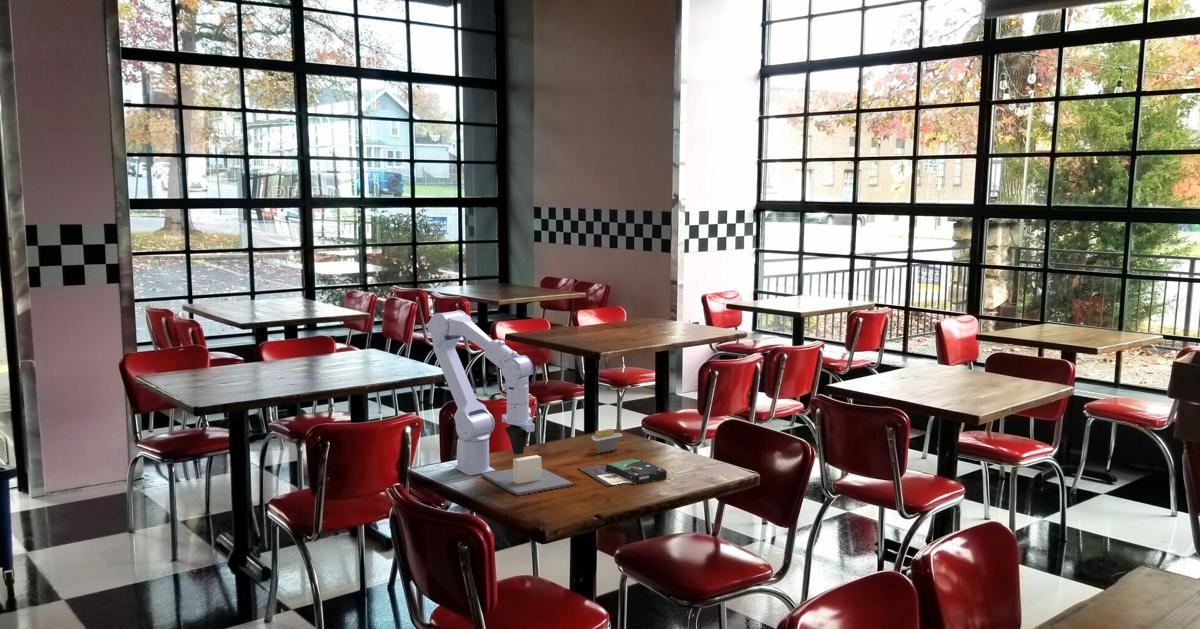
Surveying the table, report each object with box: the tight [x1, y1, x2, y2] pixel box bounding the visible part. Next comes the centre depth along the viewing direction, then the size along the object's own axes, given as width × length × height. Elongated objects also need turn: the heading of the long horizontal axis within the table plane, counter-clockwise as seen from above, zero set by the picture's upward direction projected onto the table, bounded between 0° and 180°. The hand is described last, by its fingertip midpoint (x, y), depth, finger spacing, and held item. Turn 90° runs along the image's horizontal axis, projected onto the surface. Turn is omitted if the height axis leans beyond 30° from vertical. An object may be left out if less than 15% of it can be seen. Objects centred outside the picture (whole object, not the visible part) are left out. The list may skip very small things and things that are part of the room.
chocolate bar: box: [577, 463, 632, 487], centre depth 258 cm, size 9×1×18 cm
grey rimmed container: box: [591, 428, 623, 454], centre depth 284 cm, size 12×18×7 cm, turn 128°
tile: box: [512, 454, 542, 484], centre depth 250 cm, size 2×7×6 cm, turn 123°
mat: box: [482, 468, 574, 497], centre depth 253 cm, size 20×16×1 cm
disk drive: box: [606, 457, 668, 484], centre depth 259 cm, size 10×3×15 cm
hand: (518, 453), depth 254 cm, fingers closed
